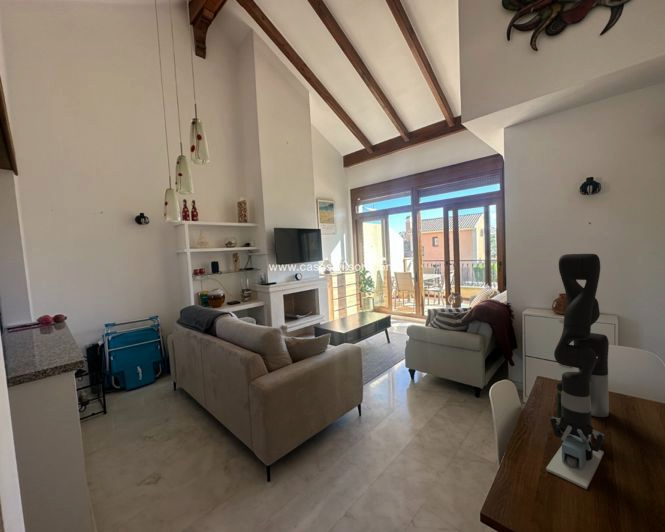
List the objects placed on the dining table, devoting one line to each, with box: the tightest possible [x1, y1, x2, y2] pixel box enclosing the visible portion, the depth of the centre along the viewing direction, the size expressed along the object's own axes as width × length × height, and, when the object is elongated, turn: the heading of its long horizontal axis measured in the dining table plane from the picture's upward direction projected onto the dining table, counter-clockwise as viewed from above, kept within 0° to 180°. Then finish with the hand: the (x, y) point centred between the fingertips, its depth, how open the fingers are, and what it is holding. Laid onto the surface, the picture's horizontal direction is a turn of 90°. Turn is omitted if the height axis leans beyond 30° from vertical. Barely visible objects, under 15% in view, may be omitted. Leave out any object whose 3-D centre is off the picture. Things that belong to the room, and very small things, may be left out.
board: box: [545, 445, 605, 490], centre depth 97 cm, size 22×10×3 cm, turn 128°
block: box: [561, 434, 592, 470], centre depth 97 cm, size 12×5×6 cm, turn 128°
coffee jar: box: [556, 379, 566, 431], centre depth 114 cm, size 10×8×19 cm
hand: (576, 454), depth 98 cm, fingers closed on block, 5 cm apart
